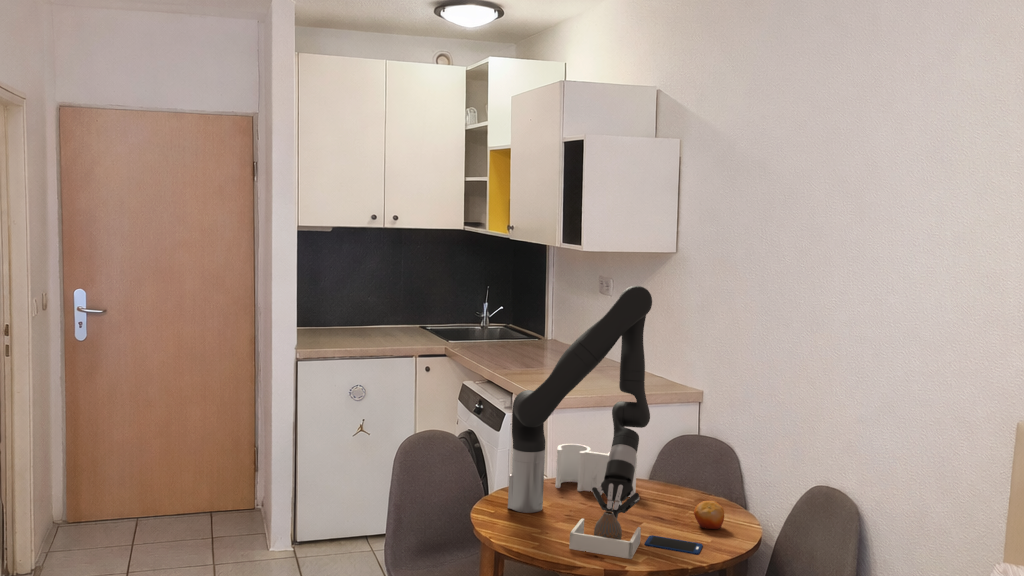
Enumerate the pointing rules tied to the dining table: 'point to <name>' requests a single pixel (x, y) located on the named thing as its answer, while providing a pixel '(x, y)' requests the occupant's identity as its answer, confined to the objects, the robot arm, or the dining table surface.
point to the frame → (603, 543)
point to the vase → (608, 526)
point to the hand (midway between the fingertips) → (610, 525)
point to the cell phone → (674, 544)
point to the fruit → (709, 515)
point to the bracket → (582, 467)
